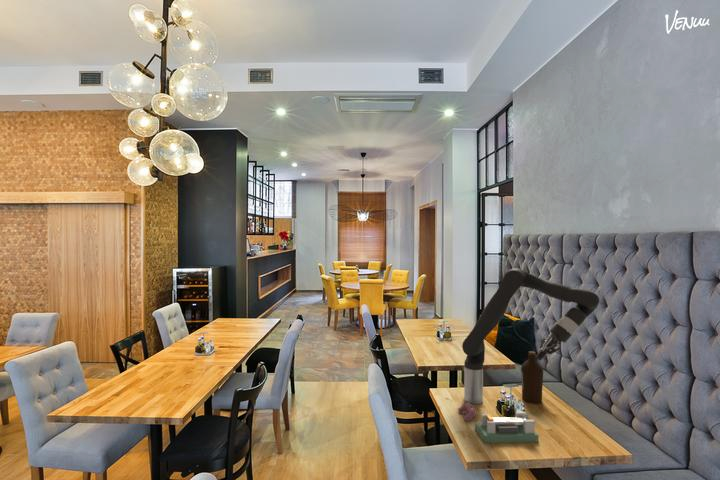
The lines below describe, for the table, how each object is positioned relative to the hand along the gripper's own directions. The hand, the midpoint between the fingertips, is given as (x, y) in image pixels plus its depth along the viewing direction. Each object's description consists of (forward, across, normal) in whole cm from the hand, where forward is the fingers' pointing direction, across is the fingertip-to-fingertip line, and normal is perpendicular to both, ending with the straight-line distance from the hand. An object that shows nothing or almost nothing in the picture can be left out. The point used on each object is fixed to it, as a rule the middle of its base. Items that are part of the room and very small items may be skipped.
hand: (537, 358), depth 161 cm
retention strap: (+30, +3, +7) cm, 31 cm away
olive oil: (+16, -35, +27) cm, 47 cm away
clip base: (+34, +3, +10) cm, 35 cm away
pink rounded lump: (+42, -13, 0) cm, 44 cm away
